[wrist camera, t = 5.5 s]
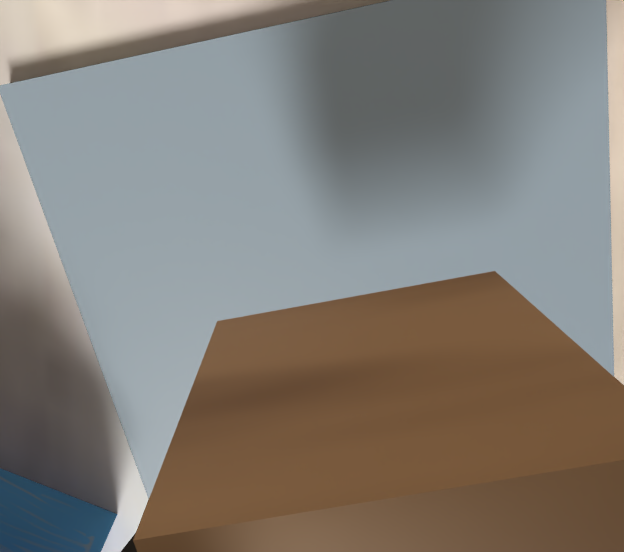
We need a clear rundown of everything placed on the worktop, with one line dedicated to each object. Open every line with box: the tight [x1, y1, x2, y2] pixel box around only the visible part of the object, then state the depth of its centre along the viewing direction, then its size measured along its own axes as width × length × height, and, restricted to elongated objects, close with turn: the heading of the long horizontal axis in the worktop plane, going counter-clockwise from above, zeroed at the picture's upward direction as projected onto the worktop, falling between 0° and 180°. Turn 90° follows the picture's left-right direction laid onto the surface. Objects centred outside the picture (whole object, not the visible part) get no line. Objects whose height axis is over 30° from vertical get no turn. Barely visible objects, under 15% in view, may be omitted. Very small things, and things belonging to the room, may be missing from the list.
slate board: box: [0, 0, 614, 498], centre depth 16 cm, size 16×16×1 cm
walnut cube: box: [133, 271, 624, 552], centre depth 8 cm, size 5×5×5 cm
